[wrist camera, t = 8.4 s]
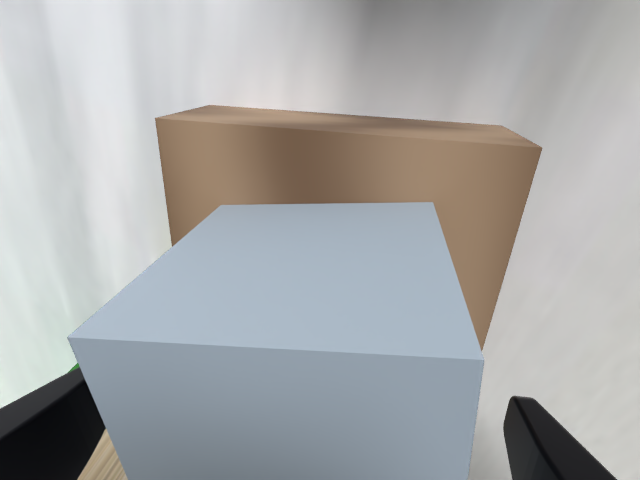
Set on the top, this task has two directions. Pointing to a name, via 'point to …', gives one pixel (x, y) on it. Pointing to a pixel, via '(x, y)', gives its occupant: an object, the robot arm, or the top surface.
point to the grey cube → (291, 350)
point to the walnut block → (357, 176)
